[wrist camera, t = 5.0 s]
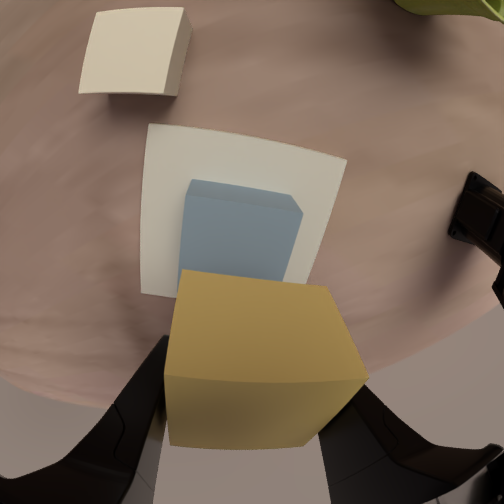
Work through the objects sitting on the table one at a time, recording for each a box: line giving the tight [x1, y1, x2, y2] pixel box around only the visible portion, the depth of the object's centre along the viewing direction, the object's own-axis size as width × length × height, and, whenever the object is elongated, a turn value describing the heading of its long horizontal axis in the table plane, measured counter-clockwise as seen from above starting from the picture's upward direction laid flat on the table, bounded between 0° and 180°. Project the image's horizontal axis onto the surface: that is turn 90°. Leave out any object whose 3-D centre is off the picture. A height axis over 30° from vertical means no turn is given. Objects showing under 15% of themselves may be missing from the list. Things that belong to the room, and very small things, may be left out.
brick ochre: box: [164, 269, 369, 450], centre depth 8 cm, size 5×5×4 cm
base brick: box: [177, 179, 304, 292], centre depth 16 cm, size 6×6×3 cm
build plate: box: [140, 123, 347, 298], centre depth 18 cm, size 12×12×1 cm
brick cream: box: [79, 7, 193, 96], centre depth 10 cm, size 4×4×4 cm
